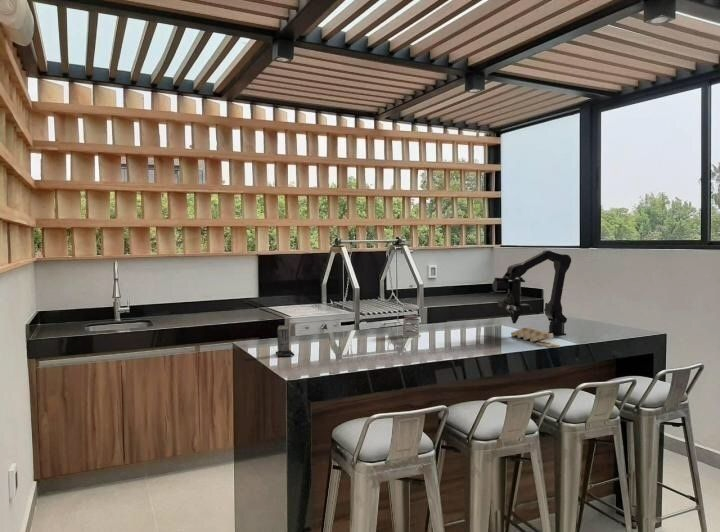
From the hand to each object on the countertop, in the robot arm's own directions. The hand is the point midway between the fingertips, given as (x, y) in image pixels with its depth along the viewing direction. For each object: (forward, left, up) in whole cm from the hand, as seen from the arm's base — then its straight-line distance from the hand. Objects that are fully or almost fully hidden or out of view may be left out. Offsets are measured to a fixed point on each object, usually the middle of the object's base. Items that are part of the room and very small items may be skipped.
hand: (514, 323), depth 268 cm
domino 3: (0, +11, -5) cm, 12 cm away
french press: (+48, -17, -6) cm, 51 cm away
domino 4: (0, +16, -5) cm, 17 cm away
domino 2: (0, +6, -5) cm, 8 cm away
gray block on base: (+114, +6, -6) cm, 114 cm away
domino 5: (0, +20, -6) cm, 21 cm away
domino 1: (0, +1, -5) cm, 5 cm away
